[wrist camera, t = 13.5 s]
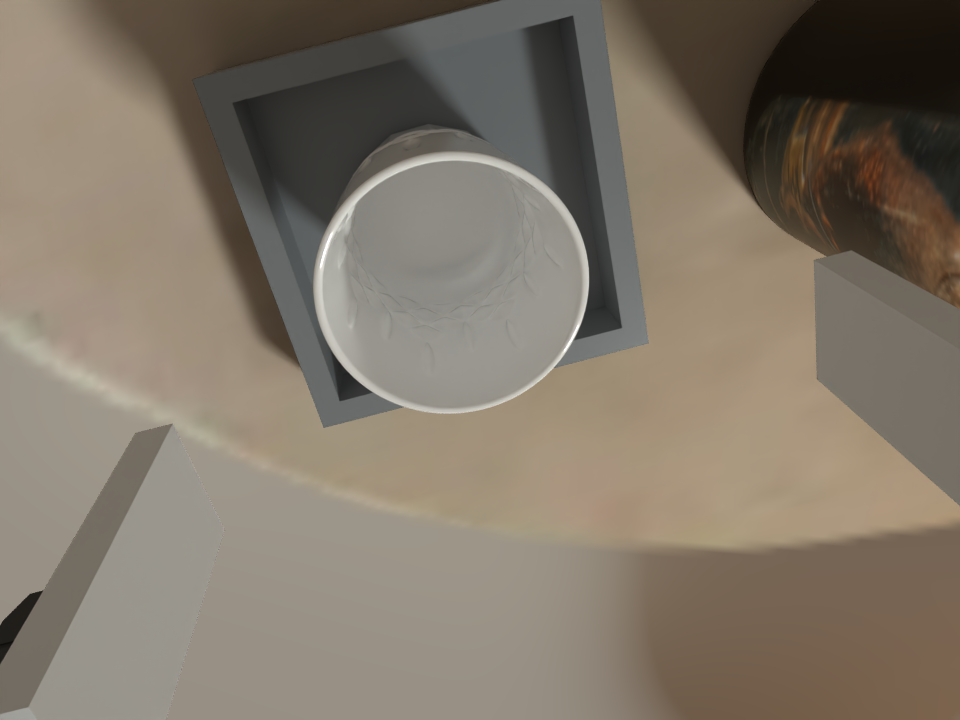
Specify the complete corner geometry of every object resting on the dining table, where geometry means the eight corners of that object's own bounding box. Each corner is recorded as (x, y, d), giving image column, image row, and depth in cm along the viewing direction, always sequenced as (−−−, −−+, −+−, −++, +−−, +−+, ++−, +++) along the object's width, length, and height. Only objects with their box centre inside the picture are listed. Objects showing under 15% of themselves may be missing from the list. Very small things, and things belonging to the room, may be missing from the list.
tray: (213, 71, 28) (192, 79, 25) (573, -21, 28) (597, -24, 25) (329, 389, 34) (323, 427, 31) (624, 312, 34) (648, 343, 31)
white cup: (324, 286, 31) (299, 398, 22) (347, 89, 28) (329, 126, 19) (507, 312, 33) (554, 427, 24) (548, 128, 29) (621, 179, 20)
